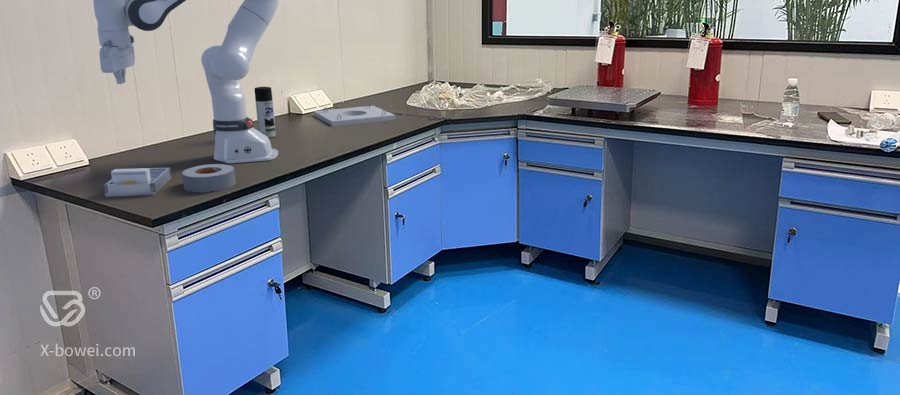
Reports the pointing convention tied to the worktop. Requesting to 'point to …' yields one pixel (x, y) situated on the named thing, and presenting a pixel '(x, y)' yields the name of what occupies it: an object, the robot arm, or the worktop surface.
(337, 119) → the mounting panel
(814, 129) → the worktop surface
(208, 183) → the tape roll
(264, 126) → the spray can
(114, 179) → the panel
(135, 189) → the rack
